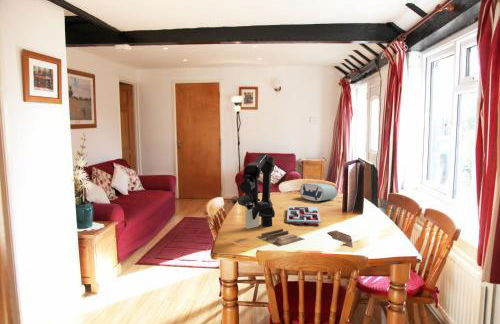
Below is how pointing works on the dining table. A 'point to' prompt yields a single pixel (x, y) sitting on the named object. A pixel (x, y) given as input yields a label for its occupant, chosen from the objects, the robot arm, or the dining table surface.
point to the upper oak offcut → (286, 237)
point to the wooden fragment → (341, 237)
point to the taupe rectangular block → (251, 219)
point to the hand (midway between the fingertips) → (252, 218)
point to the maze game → (303, 215)
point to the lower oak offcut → (287, 241)
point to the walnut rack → (275, 237)
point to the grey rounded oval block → (317, 191)
